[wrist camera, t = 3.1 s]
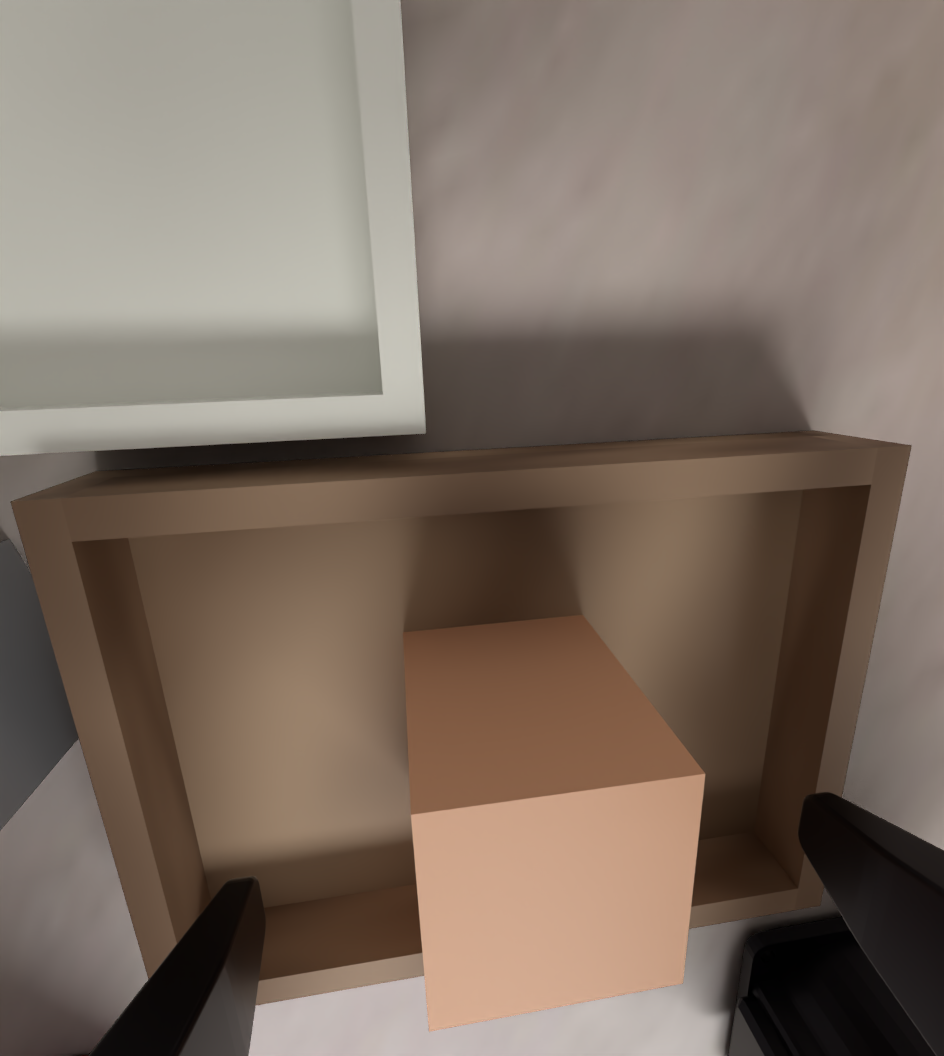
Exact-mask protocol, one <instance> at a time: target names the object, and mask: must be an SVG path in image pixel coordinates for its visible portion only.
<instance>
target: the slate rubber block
mask: <svg viewBox="0 0 944 1056" xmlns="http://www.w3.org/2000/svg"><path fill="white" fill-rule="evenodd" d="M78 738H79V737H78V733H77V730H76V726H75V723H74V719H73V716H72V712H71V709H70V706H69V702H68V699H67V695H66V692H65V688H64V685H63V681H62V678H61V674H60V671H59V668H58V664H57V661H56V657H55V654H54V650H53V647H52V643H51V640H50V636H49V633H48V630H47V626H46V623H45V619H44V616H43V612H42V609H41V605H40V602H39V598H38V595H37V592H36V588H35V585H34V581H33V578H32V574H31V573H30V571H29V569H28V568H27V566H26V565H25V563H24V561H23V560H22V558H21V556H20V555H19V553H18V552H17V550H16V548H15V547H14V545H13V543H12V542H11V540H10V539H8V540H5V541H2V542H0V830H1V829H2V828H3V827H4V826H5V825H6V823H7V822H8V821H9V820H10V819H11V817H12V816H13V815H14V814H15V813H16V811H17V810H18V809H19V808H20V807H21V806H22V804H23V803H24V802H25V801H26V800H27V798H28V797H29V796H30V795H31V794H32V793H33V791H34V790H35V789H36V788H37V787H38V785H39V784H40V783H41V782H42V781H43V780H44V778H45V777H46V776H47V775H48V774H49V772H50V771H51V770H52V769H53V768H54V766H55V765H56V764H57V763H58V762H59V761H60V759H61V758H62V757H63V756H64V755H65V753H66V752H67V751H68V750H69V749H70V748H71V746H72V745H73V744H74V743H75V742H76V740H77V739H78Z"/></svg>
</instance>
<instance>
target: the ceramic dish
mask: <svg viewBox="0 0 944 1056" xmlns="http://www.w3.org/2000/svg"><path fill="white" fill-rule="evenodd" d="M407 434H426V422H425V406H424V389H423V372H422V355H421V338H420V321H419V304H418V288H417V271H416V254H415V237H414V220H413V203H412V186H411V170H410V153H409V136H408V119H407V102H406V85H405V68H404V52H403V35H402V18H401V1H400V0H0V456H8V455H27V454H46V453H65V452H84V451H103V450H122V449H141V448H160V447H179V446H198V445H217V444H236V443H255V442H274V441H293V440H312V439H331V438H350V437H369V436H388V435H407Z"/></svg>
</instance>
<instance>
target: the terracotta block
mask: <svg viewBox="0 0 944 1056" xmlns="http://www.w3.org/2000/svg"><path fill="white" fill-rule="evenodd" d="M403 645H404V668H405V692H406V715H407V738H408V761H409V784H410V807H411V823H412V835H413V846H414V858H415V870H416V882H417V894H418V906H419V917H420V929H421V941H422V953H423V965H424V977H425V988H426V1000H427V1012H428V1024H429V1032H430V1031H435V1030H440V1029H445V1028H451V1027H456V1026H461V1025H466V1024H472V1023H477V1022H482V1021H488V1020H493V1019H498V1018H503V1017H509V1016H514V1015H519V1014H524V1013H530V1012H535V1011H540V1010H546V1009H551V1008H556V1007H561V1006H567V1005H572V1004H577V1003H583V1002H588V1001H593V1000H598V999H604V998H609V997H614V996H619V995H625V994H630V993H635V992H641V991H646V990H651V989H656V988H662V987H667V986H672V985H677V984H683V978H684V968H685V959H686V950H687V940H688V931H689V922H690V913H691V903H692V894H693V885H694V875H695V866H696V857H697V848H698V838H699V829H700V820H701V810H702V801H703V792H704V782H705V773H704V771H703V770H702V769H701V767H700V766H699V765H698V764H697V762H696V761H695V760H694V758H693V757H692V756H691V754H690V753H689V752H688V751H687V749H686V748H685V747H684V745H683V744H682V743H681V741H680V740H679V739H678V738H677V736H676V735H675V734H674V732H673V731H672V730H671V728H670V727H669V726H668V725H667V723H666V722H665V721H664V719H663V718H662V717H661V715H660V714H659V713H658V712H657V710H656V709H655V708H654V706H653V705H652V704H651V703H650V701H649V700H648V699H647V697H646V696H645V695H644V693H643V692H642V691H641V690H640V688H639V687H638V686H637V684H636V683H635V682H634V680H633V679H632V678H631V677H630V675H629V674H628V673H627V671H626V670H625V669H624V667H623V666H622V665H621V664H620V662H619V661H618V660H617V658H616V657H615V656H614V654H613V653H612V652H611V651H610V649H609V648H608V647H607V645H606V644H605V643H604V642H603V640H602V639H601V638H600V636H599V635H598V634H597V632H596V631H595V630H594V629H593V627H592V626H591V625H590V623H589V622H588V621H587V619H586V618H585V617H584V616H583V615H575V616H565V617H555V618H545V619H534V620H524V621H514V622H504V623H493V624H483V625H473V626H463V627H452V628H442V629H432V630H422V631H411V632H403Z"/></svg>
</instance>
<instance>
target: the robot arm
mask: <svg viewBox="0 0 944 1056" xmlns="http://www.w3.org/2000/svg"><path fill="white" fill-rule="evenodd" d="M798 838H799V842H800V845H801V847H802V849H803V851H804V853H805V855H806V856H807V858H808V860H809V861H810V863H811V865H812V866H813V868H814V870H815V871H816V873H817V875H818V877H819V878H820V880H821V882H822V883H823V885H824V887H825V888H826V890H827V892H828V893H829V895H830V897H831V899H832V900H833V902H834V904H835V905H836V907H837V909H838V910H839V912H840V914H841V916H842V917H840V918H835V919H829V920H824V921H818V922H812V923H807V924H801V925H796V926H790V927H785V928H779V929H774V930H768V931H763V932H759V933H756V934H754V935H753V936H751V937H750V938H749V939H748V940H747V942H746V944H745V948H744V954H743V961H742V968H741V974H740V981H739V988H738V995H737V1001H736V1008H735V1015H734V1021H733V1028H732V1035H731V1041H730V1048H729V1055H728V1056H944V850H942V849H940V848H938V847H936V846H934V845H932V844H930V843H928V842H926V841H924V840H922V839H920V838H918V837H917V836H915V835H913V834H911V833H909V832H907V831H905V830H903V829H901V828H899V827H897V826H895V825H893V824H891V823H890V822H888V821H886V820H884V819H882V818H880V817H878V816H876V815H874V814H872V813H870V812H868V811H866V810H864V809H862V808H861V807H859V806H857V805H855V804H853V803H851V802H849V801H847V800H845V799H843V798H841V797H839V796H837V795H835V794H833V793H830V792H823V793H816V794H809V795H807V796H806V797H805V798H804V800H803V804H802V809H801V815H800V821H799V827H798ZM265 930H266V917H265V911H264V905H263V900H262V895H261V890H260V885H259V881H258V879H257V877H255V876H246V877H239V878H233V879H230V880H228V881H227V882H226V883H225V884H224V885H223V886H222V887H221V888H220V890H219V891H218V892H217V894H216V895H215V896H214V897H213V899H212V900H211V901H210V902H209V904H208V905H207V906H206V907H205V909H204V910H203V911H202V913H201V914H200V915H199V916H198V918H197V919H196V920H195V921H194V923H193V924H192V925H191V926H190V928H189V929H188V930H187V932H186V933H185V934H184V935H183V937H182V938H181V939H180V940H179V942H178V943H177V944H176V946H175V947H174V948H173V949H172V951H171V952H170V953H169V954H168V956H167V957H166V958H165V959H164V961H163V962H162V963H161V965H160V966H159V967H158V968H157V970H156V971H155V972H154V973H153V975H152V976H151V977H150V978H149V980H148V981H147V982H146V984H145V985H144V986H143V987H142V989H141V990H140V991H139V992H138V994H137V995H136V996H135V997H134V999H133V1000H132V1001H131V1003H130V1004H129V1005H128V1006H127V1008H126V1009H125V1010H124V1011H123V1013H122V1014H121V1015H120V1016H119V1018H118V1019H117V1020H116V1022H115V1023H114V1024H113V1025H112V1027H111V1028H110V1029H109V1030H108V1032H107V1033H106V1034H105V1035H104V1037H103V1038H102V1039H101V1041H100V1042H99V1043H98V1044H97V1046H96V1047H95V1048H94V1049H93V1051H92V1052H91V1053H90V1054H89V1056H248V1054H249V1047H250V1041H251V1034H252V1026H253V1019H254V1012H255V1005H256V997H257V990H258V983H259V975H260V968H261V961H262V953H263V946H264V939H265Z"/></svg>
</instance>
